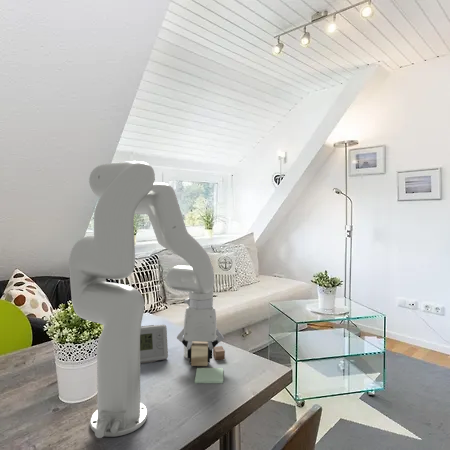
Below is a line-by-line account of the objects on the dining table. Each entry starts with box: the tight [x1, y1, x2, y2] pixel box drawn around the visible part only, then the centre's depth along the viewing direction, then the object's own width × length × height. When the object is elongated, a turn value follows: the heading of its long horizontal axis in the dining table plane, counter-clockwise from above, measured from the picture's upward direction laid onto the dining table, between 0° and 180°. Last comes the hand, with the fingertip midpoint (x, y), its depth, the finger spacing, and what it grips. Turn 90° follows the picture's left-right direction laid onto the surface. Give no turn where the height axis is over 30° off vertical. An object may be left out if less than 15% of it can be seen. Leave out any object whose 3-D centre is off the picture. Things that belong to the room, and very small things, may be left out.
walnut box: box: [212, 345, 226, 361], centre depth 114 cm, size 4×3×3 cm
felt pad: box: [194, 367, 224, 384], centre depth 101 cm, size 8×8×1 cm
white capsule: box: [183, 341, 193, 360], centre depth 115 cm, size 4×4×5 cm
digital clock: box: [140, 324, 169, 364], centre depth 112 cm, size 16×9×11 cm, turn 96°
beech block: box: [190, 341, 209, 367], centre depth 108 cm, size 5×5×6 cm
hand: (199, 360), depth 108 cm, fingers closed on beech block, 5 cm apart
